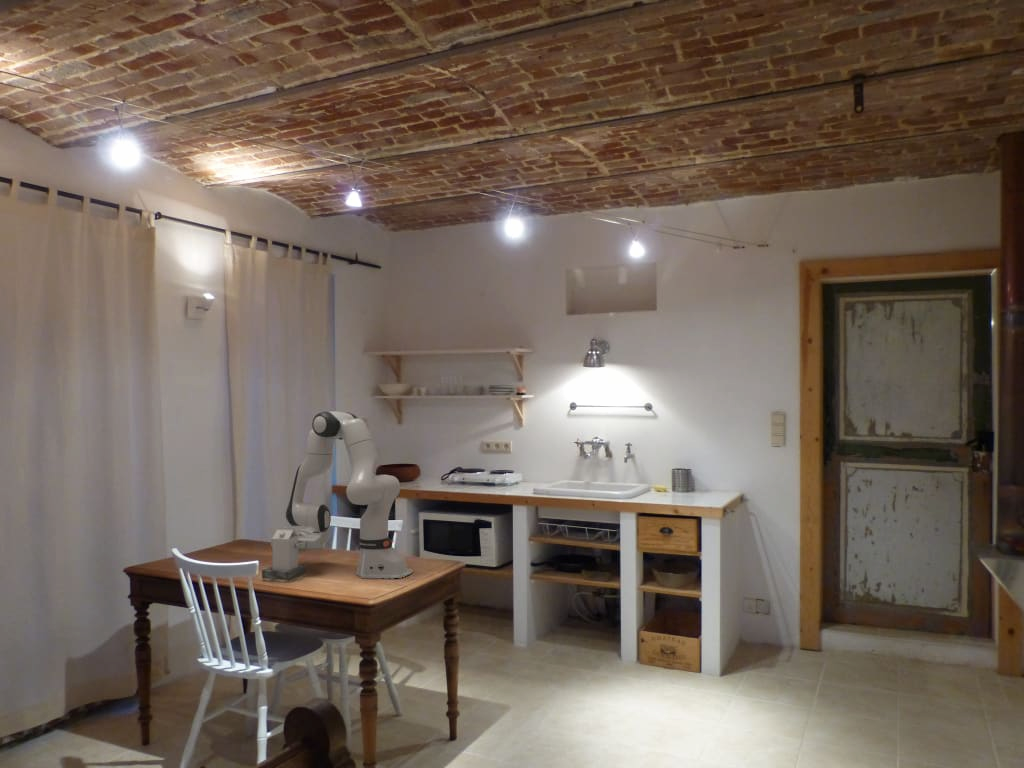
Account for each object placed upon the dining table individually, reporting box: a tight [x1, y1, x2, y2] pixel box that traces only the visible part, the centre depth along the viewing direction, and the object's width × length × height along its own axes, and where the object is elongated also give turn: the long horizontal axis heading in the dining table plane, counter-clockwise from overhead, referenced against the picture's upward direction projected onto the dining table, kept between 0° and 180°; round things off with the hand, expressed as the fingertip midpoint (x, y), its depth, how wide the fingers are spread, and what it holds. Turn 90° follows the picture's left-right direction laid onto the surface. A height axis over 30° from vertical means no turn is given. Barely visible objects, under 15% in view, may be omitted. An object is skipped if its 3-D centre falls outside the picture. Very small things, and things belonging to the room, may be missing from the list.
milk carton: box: [271, 526, 299, 571], centre depth 298 cm, size 7×7×19 cm
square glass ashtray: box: [261, 564, 307, 583], centre depth 298 cm, size 12×12×4 cm
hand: (285, 545), depth 299 cm, fingers open, 8 cm apart
